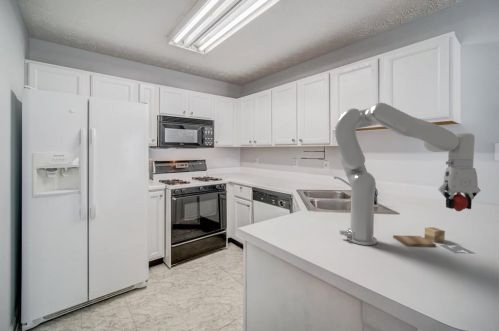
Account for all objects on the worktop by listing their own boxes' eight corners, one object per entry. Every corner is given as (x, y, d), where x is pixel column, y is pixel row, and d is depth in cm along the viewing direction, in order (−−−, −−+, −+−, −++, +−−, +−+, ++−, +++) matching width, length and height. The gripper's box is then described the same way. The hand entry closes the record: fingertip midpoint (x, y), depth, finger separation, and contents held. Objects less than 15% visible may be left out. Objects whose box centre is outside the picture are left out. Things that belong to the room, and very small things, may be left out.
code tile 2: (432, 242, 101) (432, 242, 101) (422, 238, 107) (422, 237, 107) (446, 243, 101) (446, 242, 101) (436, 238, 107) (436, 237, 107)
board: (406, 246, 97) (406, 243, 97) (393, 237, 107) (393, 235, 107) (435, 247, 97) (435, 244, 97) (419, 238, 107) (419, 235, 106)
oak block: (434, 242, 101) (434, 231, 101) (424, 238, 106) (424, 227, 106) (444, 241, 102) (444, 230, 102) (434, 237, 107) (434, 227, 107)
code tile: (454, 253, 90) (454, 253, 90) (439, 245, 98) (439, 245, 98) (476, 254, 90) (476, 253, 90) (459, 246, 98) (459, 245, 98)
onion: (448, 209, 97) (449, 190, 97) (467, 211, 94) (467, 191, 94) (449, 211, 93) (449, 192, 93) (468, 213, 89) (469, 193, 89)
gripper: (445, 164, 89) (443, 210, 90) (492, 164, 88) (489, 210, 89) (431, 163, 97) (429, 205, 98) (474, 164, 96) (472, 206, 96)
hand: (458, 207), depth 93 cm, fingers closed on onion, 5 cm apart
